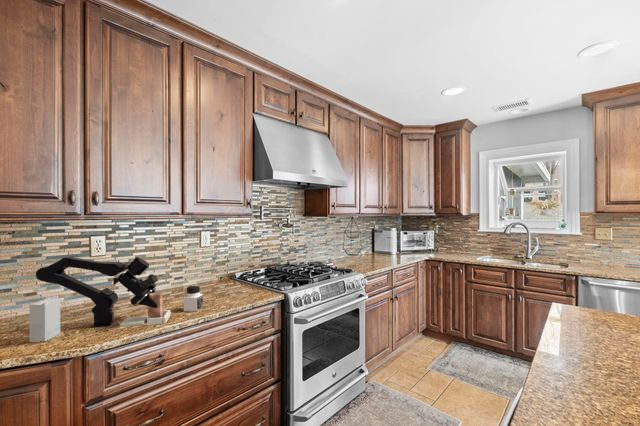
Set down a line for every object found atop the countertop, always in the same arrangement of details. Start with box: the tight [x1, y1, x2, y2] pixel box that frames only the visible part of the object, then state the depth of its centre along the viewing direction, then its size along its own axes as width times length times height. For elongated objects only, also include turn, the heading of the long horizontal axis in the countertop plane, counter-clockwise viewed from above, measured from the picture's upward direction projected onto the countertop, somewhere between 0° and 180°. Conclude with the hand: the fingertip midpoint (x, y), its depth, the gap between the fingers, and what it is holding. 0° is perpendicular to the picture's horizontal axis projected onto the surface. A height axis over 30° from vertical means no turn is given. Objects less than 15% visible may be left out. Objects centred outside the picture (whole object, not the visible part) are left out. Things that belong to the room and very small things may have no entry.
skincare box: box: [29, 298, 61, 343], centre depth 121 cm, size 8×6×15 cm
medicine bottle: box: [183, 284, 204, 312], centre depth 157 cm, size 7×7×12 cm
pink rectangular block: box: [147, 291, 164, 319], centre depth 141 cm, size 5×5×12 cm
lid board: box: [119, 315, 148, 328], centre depth 139 cm, size 9×9×1 cm
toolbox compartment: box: [146, 309, 171, 326], centre depth 142 cm, size 7×12×2 cm, turn 16°
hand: (158, 305), depth 142 cm, fingers closed on pink rectangular block, 5 cm apart
